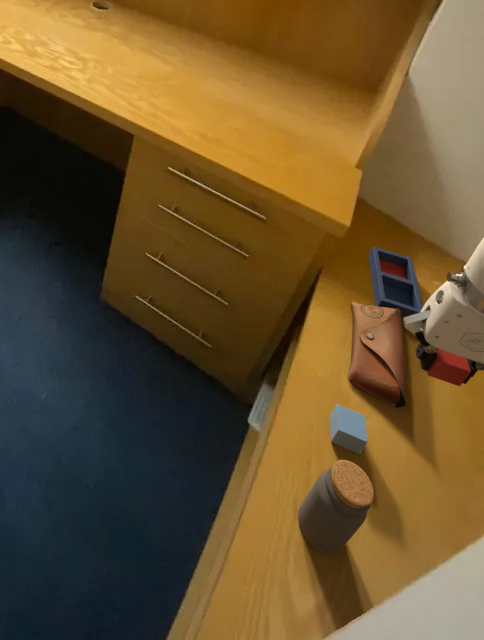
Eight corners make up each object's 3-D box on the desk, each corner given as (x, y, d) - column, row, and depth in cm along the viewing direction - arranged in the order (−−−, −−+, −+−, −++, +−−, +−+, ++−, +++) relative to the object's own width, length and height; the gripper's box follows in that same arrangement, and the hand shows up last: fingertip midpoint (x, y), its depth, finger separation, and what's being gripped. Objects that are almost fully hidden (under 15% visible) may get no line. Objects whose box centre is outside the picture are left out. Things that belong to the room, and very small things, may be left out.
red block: (452, 360, 77) (463, 345, 75) (459, 386, 74) (471, 372, 72) (421, 349, 79) (431, 335, 77) (427, 375, 75) (437, 360, 73)
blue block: (356, 427, 82) (364, 415, 80) (359, 454, 79) (367, 442, 77) (329, 415, 84) (336, 403, 82) (330, 442, 81) (338, 430, 79)
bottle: (335, 505, 74) (368, 459, 66) (349, 560, 69) (387, 517, 61) (292, 496, 75) (321, 450, 67) (303, 549, 70) (335, 506, 62)
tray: (406, 267, 108) (411, 257, 106) (418, 323, 97) (424, 314, 96) (368, 255, 110) (372, 246, 109) (376, 309, 100) (381, 300, 98)
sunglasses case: (348, 297, 101) (377, 287, 97) (377, 322, 100) (408, 313, 96) (346, 383, 88) (380, 376, 83) (380, 412, 87) (416, 407, 82)
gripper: (426, 294, 67) (380, 369, 76) (589, 343, 61) (518, 417, 70) (414, 249, 73) (373, 323, 82) (561, 290, 67) (500, 365, 76)
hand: (440, 366), depth 76 cm, fingers closed on red block, 4 cm apart
